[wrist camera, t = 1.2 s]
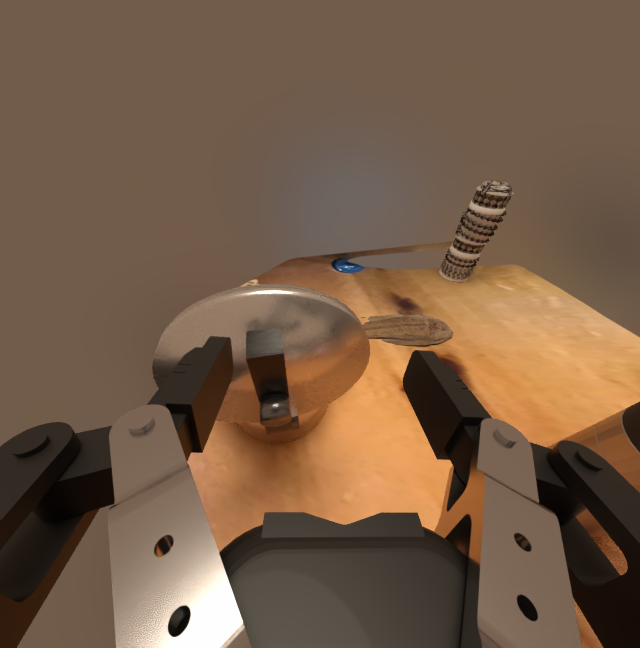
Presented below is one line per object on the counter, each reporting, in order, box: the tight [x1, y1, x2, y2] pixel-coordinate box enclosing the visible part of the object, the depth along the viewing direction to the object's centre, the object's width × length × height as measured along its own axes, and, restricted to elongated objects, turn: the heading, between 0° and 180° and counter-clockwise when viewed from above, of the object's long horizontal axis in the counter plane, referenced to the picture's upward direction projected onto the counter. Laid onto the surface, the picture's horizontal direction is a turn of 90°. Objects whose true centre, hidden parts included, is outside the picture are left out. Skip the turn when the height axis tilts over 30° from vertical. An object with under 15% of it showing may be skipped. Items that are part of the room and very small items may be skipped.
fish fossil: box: [361, 314, 453, 346], centre depth 56 cm, size 26×10×1 cm, turn 95°
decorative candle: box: [439, 181, 514, 282], centre depth 64 cm, size 9×9×25 cm
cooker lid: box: [152, 284, 370, 433], centre depth 20 cm, size 18×18×5 cm
